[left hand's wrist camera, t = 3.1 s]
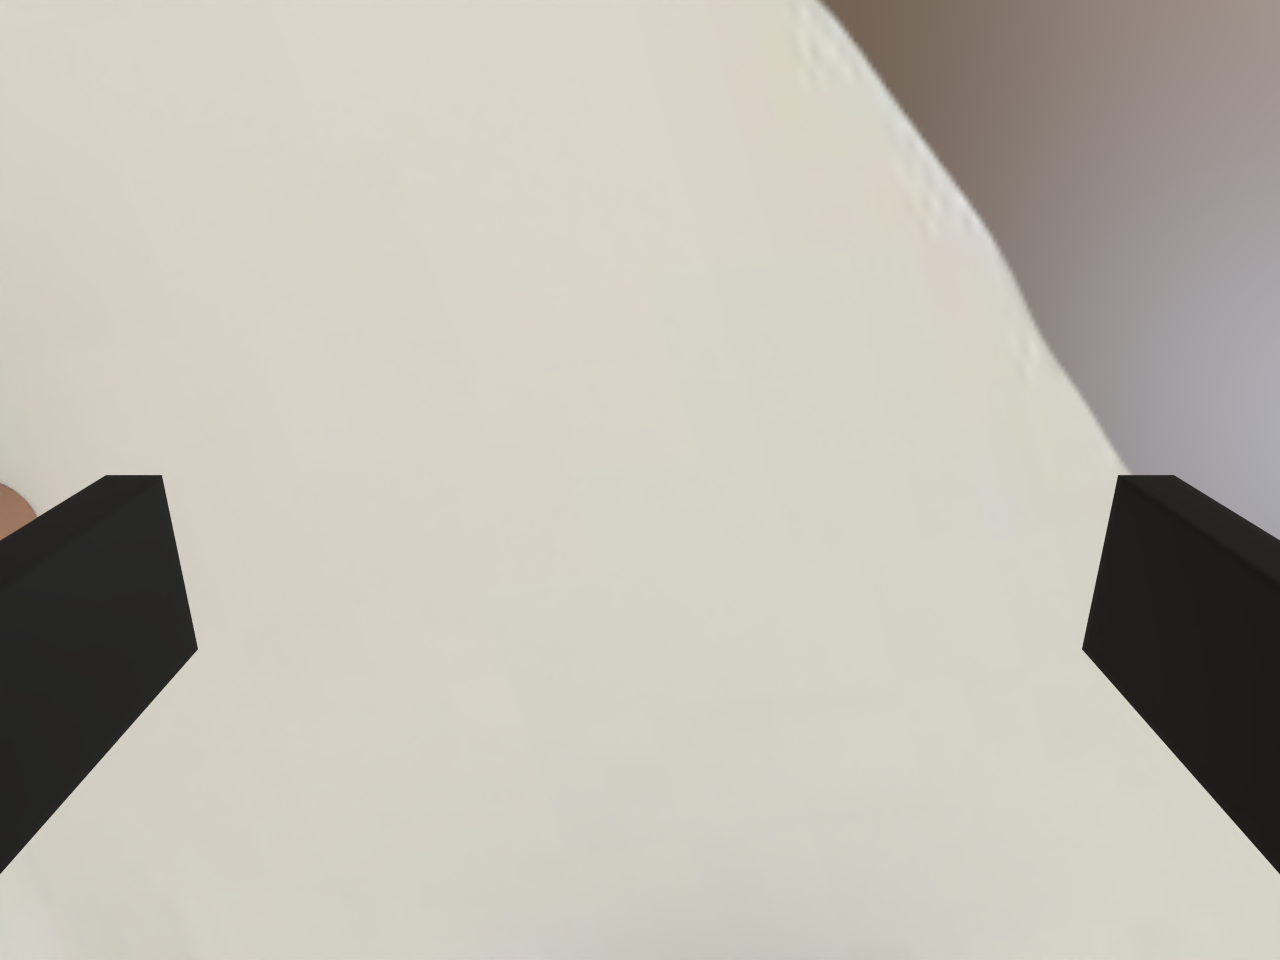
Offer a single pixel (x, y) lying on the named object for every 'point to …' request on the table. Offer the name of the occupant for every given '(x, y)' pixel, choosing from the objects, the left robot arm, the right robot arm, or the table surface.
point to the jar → (13, 511)
